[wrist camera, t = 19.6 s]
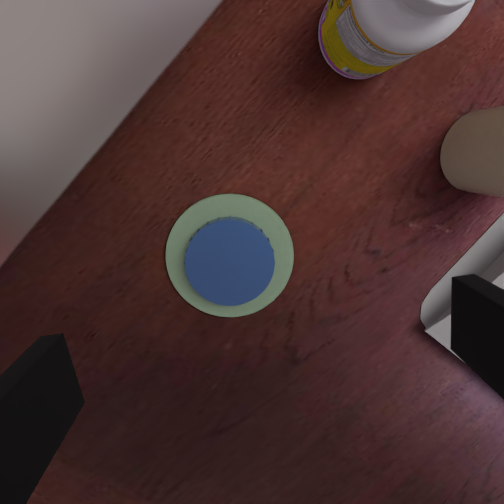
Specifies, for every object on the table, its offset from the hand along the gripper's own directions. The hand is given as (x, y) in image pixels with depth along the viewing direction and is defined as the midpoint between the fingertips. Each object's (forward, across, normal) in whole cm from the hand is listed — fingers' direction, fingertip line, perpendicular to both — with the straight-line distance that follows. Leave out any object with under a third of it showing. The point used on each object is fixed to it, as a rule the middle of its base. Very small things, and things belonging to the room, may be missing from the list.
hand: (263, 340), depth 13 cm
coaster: (+20, -2, -3) cm, 20 cm away
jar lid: (+18, -2, -3) cm, 18 cm away
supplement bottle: (+20, +11, +13) cm, 26 cm away
